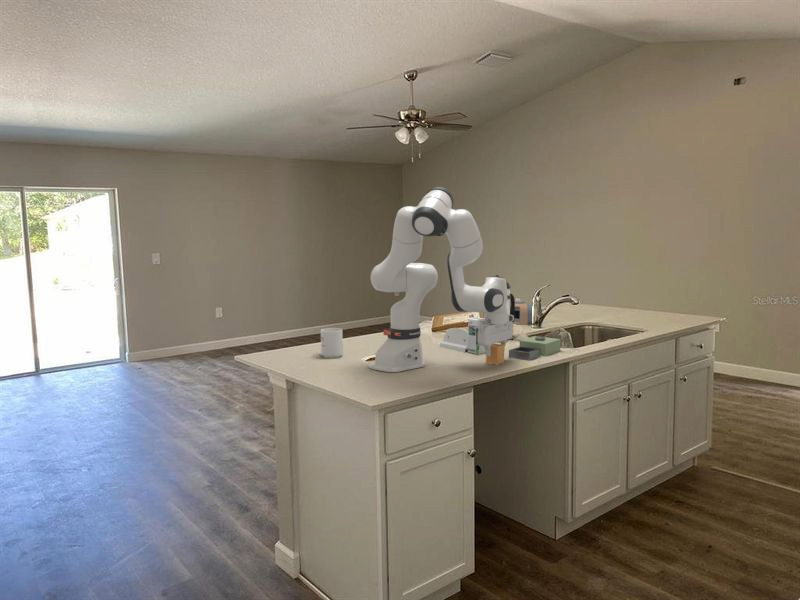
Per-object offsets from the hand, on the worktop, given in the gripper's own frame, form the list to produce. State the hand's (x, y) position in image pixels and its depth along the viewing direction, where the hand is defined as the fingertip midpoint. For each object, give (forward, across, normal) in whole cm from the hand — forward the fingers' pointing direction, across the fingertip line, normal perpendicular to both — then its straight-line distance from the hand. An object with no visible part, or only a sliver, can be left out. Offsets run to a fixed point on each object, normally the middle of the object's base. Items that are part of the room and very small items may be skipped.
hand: (495, 353), depth 234 cm
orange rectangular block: (+4, 0, 0) cm, 4 cm away
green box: (+4, +29, -4) cm, 30 cm away
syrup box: (+4, +12, +16) cm, 21 cm away
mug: (+4, -30, +61) cm, 68 cm away
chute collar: (+4, +16, -4) cm, 17 cm away
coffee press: (+4, +43, +26) cm, 50 cm away
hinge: (+4, +14, +28) cm, 31 cm away
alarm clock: (+4, +90, +41) cm, 99 cm away
